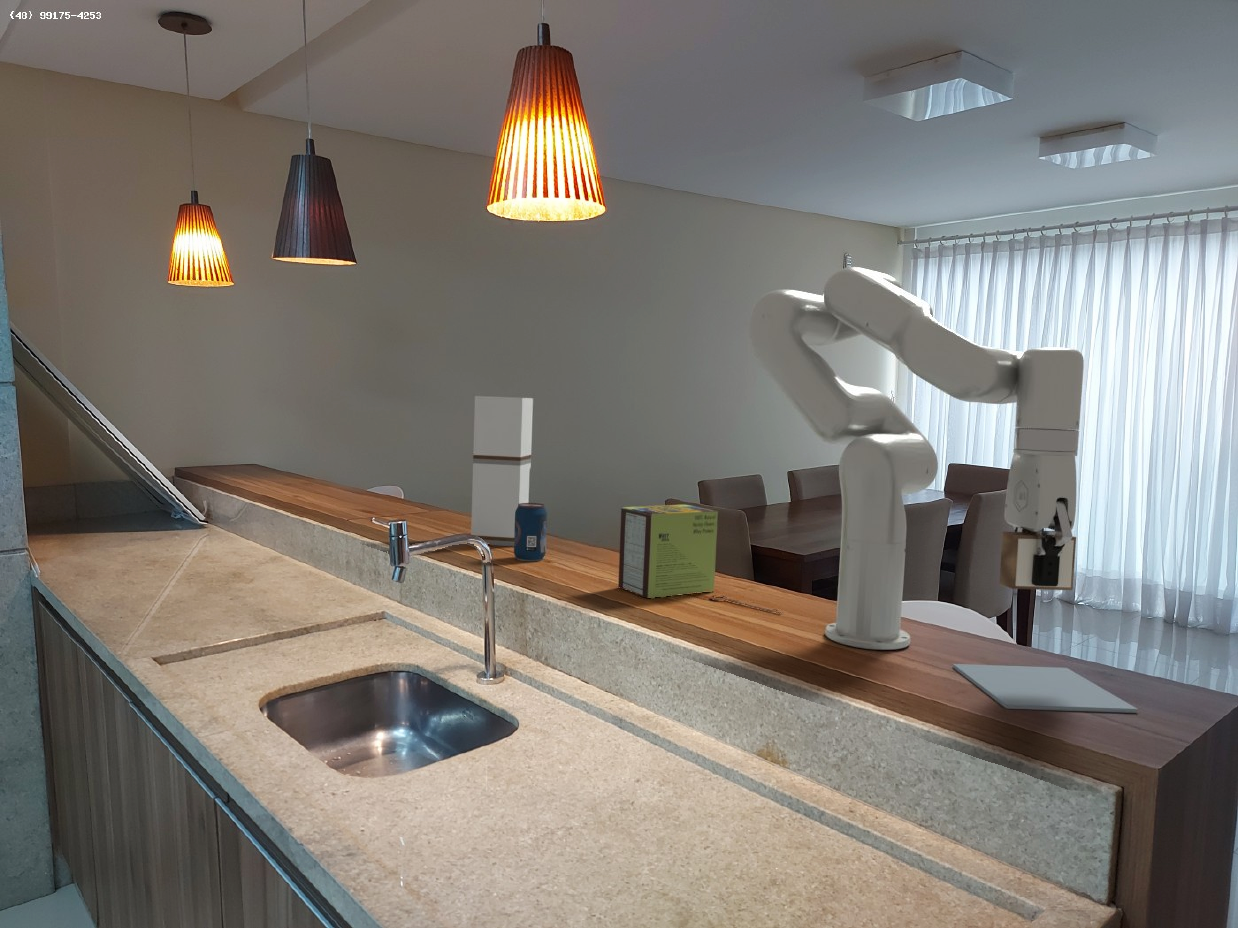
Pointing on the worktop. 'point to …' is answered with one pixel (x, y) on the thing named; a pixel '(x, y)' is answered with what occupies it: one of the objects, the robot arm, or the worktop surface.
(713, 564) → the protein box
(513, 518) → the banded white tower
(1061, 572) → the wooden block
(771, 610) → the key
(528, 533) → the soda can
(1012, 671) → the rubber mat
